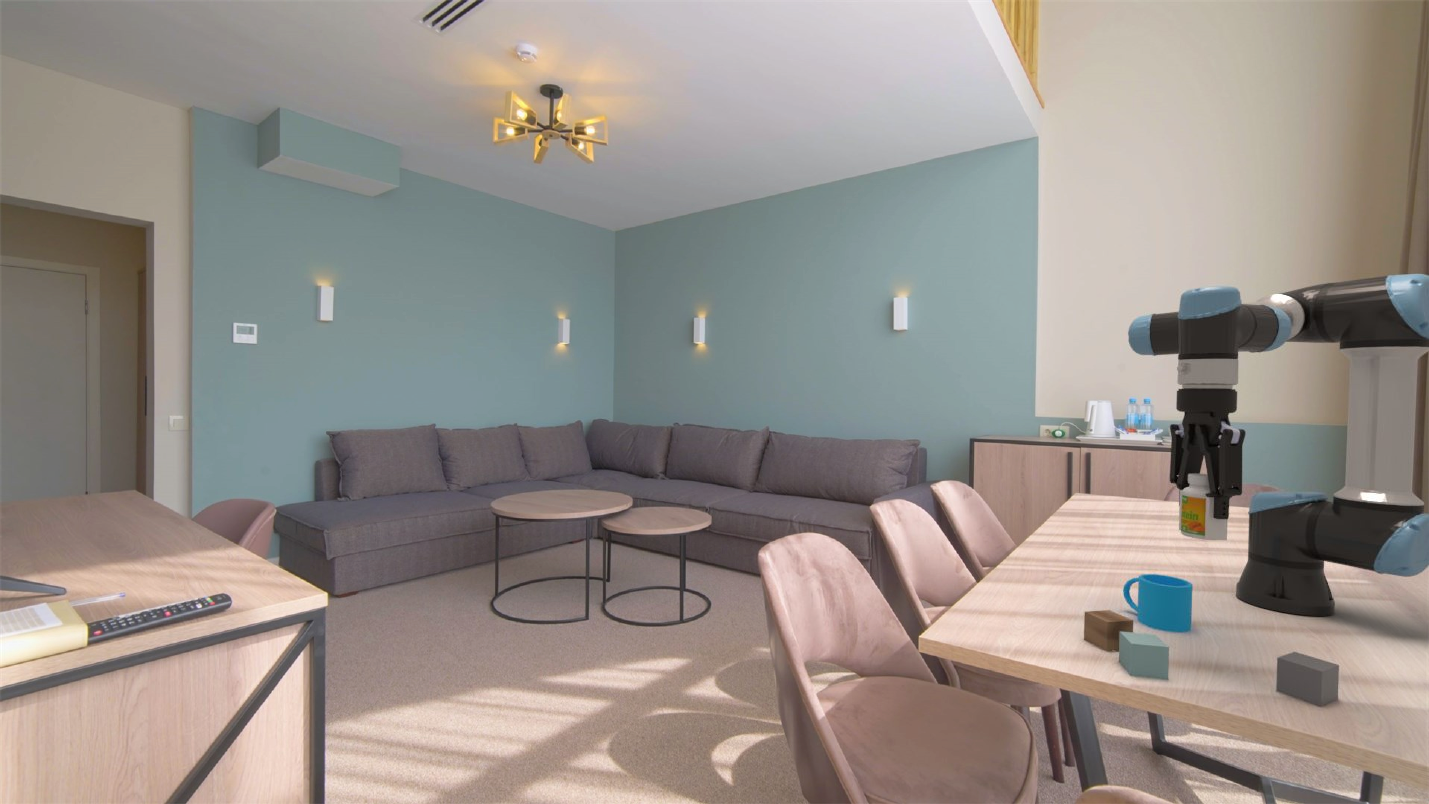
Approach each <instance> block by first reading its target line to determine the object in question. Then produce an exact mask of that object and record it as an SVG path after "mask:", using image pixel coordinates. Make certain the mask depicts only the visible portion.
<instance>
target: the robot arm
mask: <svg viewBox="0 0 1429 804" xmlns="http://www.w3.org/2000/svg"><path fill="white" fill-rule="evenodd" d="M1127 331H1128V332H1127V335H1128V340H1127V341H1128V343H1129V347H1130V348H1131V350H1132V351H1133V352H1134V353H1135V354H1138V355H1141V356H1153V357H1155V356H1156V357H1157V356H1167V355H1169V356H1170V355H1177V360H1178V363H1177V367H1176V371H1177V384H1178V385H1179V386H1180V385H1181V388H1178V389H1177V390H1176V403H1175V404H1176V406H1175V407H1176V410H1177V411H1178V412H1181V413H1182V412H1183V413H1184V414H1183V419H1182V421H1181V423H1171V424H1170V425H1169V430H1170V431H1169V432H1170V436H1171V437H1170V438H1171V446H1170V447H1171V448H1170V466H1169V482H1170V484H1174V485H1176V488H1177V489H1178V490H1179V492H1178V493H1179V495H1178V496H1179V497H1178V507H1179V511H1178V512H1179V515H1178V516H1179V517H1178V530H1179V531H1181V513H1182V491H1183V489H1184V488H1186V487H1189V486H1190V483H1188V474H1201V470H1202V467H1203V461H1204V462H1205V468H1206V474H1207V475H1208V481H1209V488H1210V493H1207V494H1206V514H1205V539H1207V540H1206V541H1228V519H1229V517H1230V499H1231V498H1232V497H1235V496H1242V494H1243V444H1244V441H1245V438H1246V434H1247V433H1246V430H1245V429H1243V428H1234V427H1233V426H1231V422H1230V418H1229V415H1230V414H1233V413H1236V412H1237V409H1238V391H1237V390H1236V389H1235V388H1234V389H1233V387H1234V386H1237V385H1238V384H1239V353H1241V352H1246V353H1247V352H1249V353H1265V352H1271V351H1274V350H1276V349H1278V348H1281V346H1283V345H1284V344H1285V343H1311V344H1312V343H1313V344H1314V343H1315V344H1316V343H1317V344H1326V343H1327V344H1328V343H1329V344H1335V343H1339V349H1338V350H1339V352H1340V353H1341V354H1342V355H1344V356H1345V357H1347V358H1348V360H1349V381H1348V402H1347V403H1348V404H1347V405H1348V407H1347V408H1348V409H1347V414H1348V415H1347V433H1346V452H1345V453H1346V456H1345V457H1346V458H1345V480H1344V481H1345V482H1344V486H1343V487H1342V488H1341V489H1339V490H1338V491H1336V492H1334V493H1333V496H1332V497H1333V499H1332V501H1328V500H1329V497H1328V496H1327V494H1326V493H1325V492H1319V491H1301V490H1300V491H1297V490H1295V491H1291V490H1290V491H1288V490H1286V491H1283V490H1282V491H1261V492H1256V493H1254V494H1253V495H1252V496H1251V497H1250V502H1249V509H1248V512H1247V513H1248V514H1247V515H1248V542H1247V548H1248V549H1247V551H1248V552H1247V562H1246V564H1245V566H1244V569H1243V571H1242V572H1241V574H1240V577H1239V580H1238V582H1237V583H1236V587H1235V596H1236V598H1238V599H1239V600H1240V601H1243V602H1245V603H1247V604H1250V605H1252V606H1255V607H1259V608H1264V609H1268V610H1272V611H1276V612H1280V613H1286V614H1287V613H1288V614H1292V615H1299V616H1300V615H1302V616H1312V617H1313V616H1314V617H1325V616H1332V615H1334V614H1335V613H1336V612H1335V611H1336V601H1335V598H1334V596H1333V593H1332V591H1331V588H1330V585H1329V582H1328V580H1327V578H1326V577H1327V576H1326V574H1325V572H1324V571H1325V562H1326V563H1332V564H1337V565H1343V566H1347V567H1353V568H1356V569H1362V570H1366V571H1371V572H1374V573H1377V574H1379V575H1384V574H1385V575H1391V576H1397V577H1403V578H1409V577H1414V576H1418V575H1420V574H1421V573H1423V572H1424V571H1425V570H1426V569H1427V568H1428V567H1429V513H1425V502H1424V501H1423V500H1422V499H1420V498H1419V497H1418V496H1417V495H1416V494H1415V493H1414V492H1413V481H1414V480H1413V478H1414V477H1413V476H1414V475H1413V474H1414V455H1415V432H1416V430H1415V429H1416V411H1417V410H1416V409H1417V408H1416V407H1417V386H1418V385H1417V382H1418V364H1419V363H1418V361H1419V359H1420V358H1421V357H1423V356H1424V355H1425V354H1426V353H1428V352H1429V275H1428V274H1423V273H1410V274H1409V273H1408V274H1405V273H1404V274H1390V275H1386V276H1385V275H1384V276H1377V277H1370V278H1369V277H1368V278H1362V279H1354V280H1346V281H1345V280H1344V281H1338V282H1337V281H1336V282H1327V283H1319V284H1314V285H1311V286H1306V287H1303V288H1301V287H1300V288H1297V289H1293V290H1289V291H1285V292H1279V293H1275V294H1269V295H1266V296H1263V297H1260V299H1257V300H1256V301H1253V302H1252V301H1251V302H1243V301H1242V299H1241V292H1240V291H1239V289H1238V288H1237V287H1235V286H1229V285H1226V286H1225V285H1222V286H1220V285H1219V286H1206V287H1197V288H1190V289H1188V290H1186V291H1184V292H1183V293H1182V294H1181V295H1180V300H1179V307H1178V311H1171V312H1164V313H1151V314H1147V315H1146V314H1145V315H1141V316H1137V317H1136V318H1135V319H1134V320H1132V322H1131V323H1130V325H1129V327H1128V330H1127Z"/></svg>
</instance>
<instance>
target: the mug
mask: <svg viewBox="0 0 1429 804" xmlns="http://www.w3.org/2000/svg"><path fill="white" fill-rule="evenodd" d="M1135 583H1138V586H1137V587H1138V588H1137V590H1138V591H1137V604H1136V603H1135V602H1134V601H1133V599H1132V597H1131V592H1130V590H1131V587H1132V585H1133V584H1135ZM1122 592H1123V596H1124V597H1123V598H1124V599H1125V601H1126V603H1127V604H1128V606H1129V607H1130V608H1131V609H1132V610H1134V611H1135V612H1136V613H1137V621H1138V623H1140V624H1141V625H1144V626H1146V627H1148V628H1152V629H1154V630H1155V629H1156V630H1159V631H1164V632H1170V633H1187V632H1190V631H1191V630H1192V612H1193V611H1192V610H1193V584H1192V583H1191V581H1188V580H1185V579H1183V578H1180V577H1175V576H1169V575H1163V574H1156V573H1155V574H1153V573H1146V574H1145V573H1144V574H1141V575H1138V577H1133V578H1131V579H1128V580H1127V581H1126V583H1124V585H1123V589H1122Z"/></svg>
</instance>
